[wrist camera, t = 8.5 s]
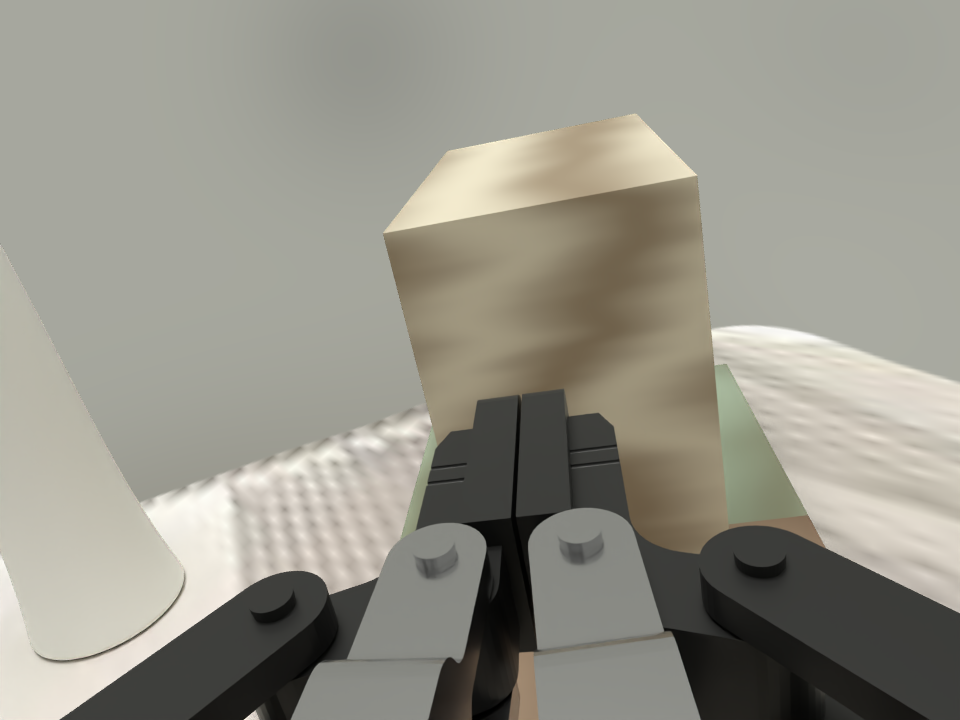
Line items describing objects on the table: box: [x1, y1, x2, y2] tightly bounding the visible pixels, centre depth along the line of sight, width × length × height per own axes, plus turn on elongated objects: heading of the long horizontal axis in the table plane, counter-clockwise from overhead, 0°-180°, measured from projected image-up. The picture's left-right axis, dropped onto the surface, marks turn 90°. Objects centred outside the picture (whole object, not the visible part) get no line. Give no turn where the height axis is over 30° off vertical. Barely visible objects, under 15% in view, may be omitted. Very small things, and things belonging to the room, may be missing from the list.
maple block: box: [383, 114, 729, 554], centre depth 28 cm, size 8×14×12 cm, turn 175°
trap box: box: [400, 364, 825, 720], centre depth 23 cm, size 14×30×2 cm, turn 175°
